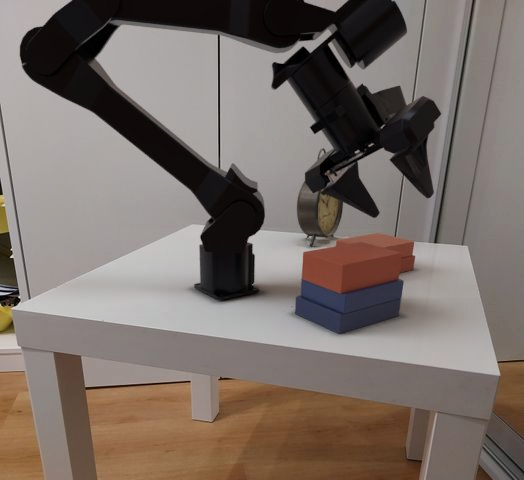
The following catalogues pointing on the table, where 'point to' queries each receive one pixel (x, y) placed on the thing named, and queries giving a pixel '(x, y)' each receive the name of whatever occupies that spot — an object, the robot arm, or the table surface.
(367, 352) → the table surface
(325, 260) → the rust book
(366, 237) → the rust stack
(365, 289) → the navy stack
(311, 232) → the alarm clock
